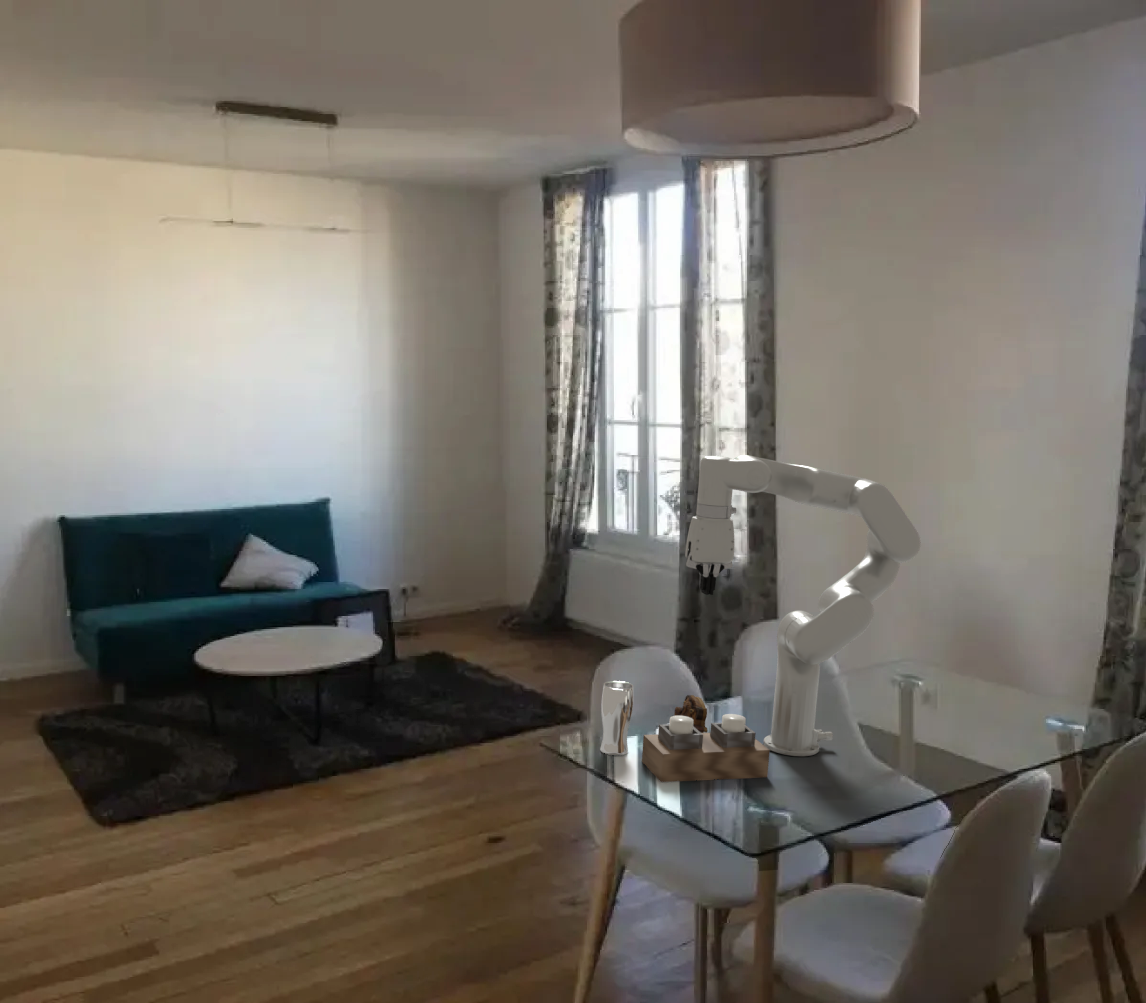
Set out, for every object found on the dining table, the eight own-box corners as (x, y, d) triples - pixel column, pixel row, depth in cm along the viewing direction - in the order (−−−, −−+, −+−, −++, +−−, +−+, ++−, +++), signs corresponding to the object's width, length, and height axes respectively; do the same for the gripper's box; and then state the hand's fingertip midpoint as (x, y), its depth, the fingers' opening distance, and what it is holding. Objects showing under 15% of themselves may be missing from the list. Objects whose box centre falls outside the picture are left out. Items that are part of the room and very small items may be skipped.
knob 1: (686, 737, 254) (688, 715, 253) (695, 745, 249) (697, 722, 248) (664, 738, 252) (666, 715, 252) (673, 746, 248) (674, 723, 247)
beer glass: (627, 758, 257) (631, 691, 255) (595, 754, 258) (600, 687, 256) (632, 748, 264) (636, 682, 262) (601, 744, 265) (605, 679, 263)
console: (743, 757, 262) (747, 718, 261) (767, 777, 251) (770, 736, 250) (641, 761, 256) (644, 721, 254) (660, 782, 244) (664, 740, 243)
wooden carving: (665, 728, 280) (669, 687, 278) (683, 727, 281) (686, 686, 280) (693, 752, 264) (697, 708, 263) (712, 751, 265) (716, 708, 264)
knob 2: (738, 736, 257) (740, 713, 257) (747, 743, 252) (749, 721, 252) (716, 736, 256) (718, 714, 255) (726, 744, 251) (727, 721, 250)
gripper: (737, 510, 267) (731, 590, 270) (675, 508, 263) (669, 589, 266) (751, 515, 260) (744, 597, 263) (688, 514, 256) (681, 597, 258)
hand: (707, 593), depth 264 cm, fingers closed
